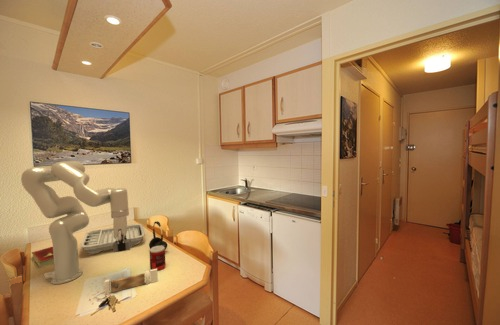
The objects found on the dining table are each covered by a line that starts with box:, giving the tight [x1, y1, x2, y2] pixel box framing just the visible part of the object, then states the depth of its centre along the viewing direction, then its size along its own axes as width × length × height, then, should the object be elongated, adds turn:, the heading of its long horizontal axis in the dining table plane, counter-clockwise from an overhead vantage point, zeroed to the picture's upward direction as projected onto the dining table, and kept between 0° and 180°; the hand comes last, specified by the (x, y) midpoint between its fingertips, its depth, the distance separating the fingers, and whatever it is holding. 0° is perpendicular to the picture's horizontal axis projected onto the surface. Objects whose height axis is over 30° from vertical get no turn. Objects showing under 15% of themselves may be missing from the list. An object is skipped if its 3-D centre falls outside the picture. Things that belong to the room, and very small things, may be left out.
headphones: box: [148, 221, 168, 251], centre depth 136 cm, size 9×15×20 cm, turn 44°
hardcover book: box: [31, 246, 54, 268], centre depth 130 cm, size 12×21×4 cm, turn 54°
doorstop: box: [112, 239, 133, 253], centre depth 106 cm, size 7×5×4 cm
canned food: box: [149, 246, 166, 272], centre depth 117 cm, size 8×8×11 cm
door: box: [110, 272, 146, 293], centre depth 100 cm, size 14×2×5 cm, turn 116°
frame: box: [104, 269, 159, 296], centre depth 101 cm, size 22×2×6 cm, turn 116°
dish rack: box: [79, 223, 145, 255], centre depth 150 cm, size 32×37×8 cm
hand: (122, 248), depth 107 cm, fingers closed on doorstop, 5 cm apart
